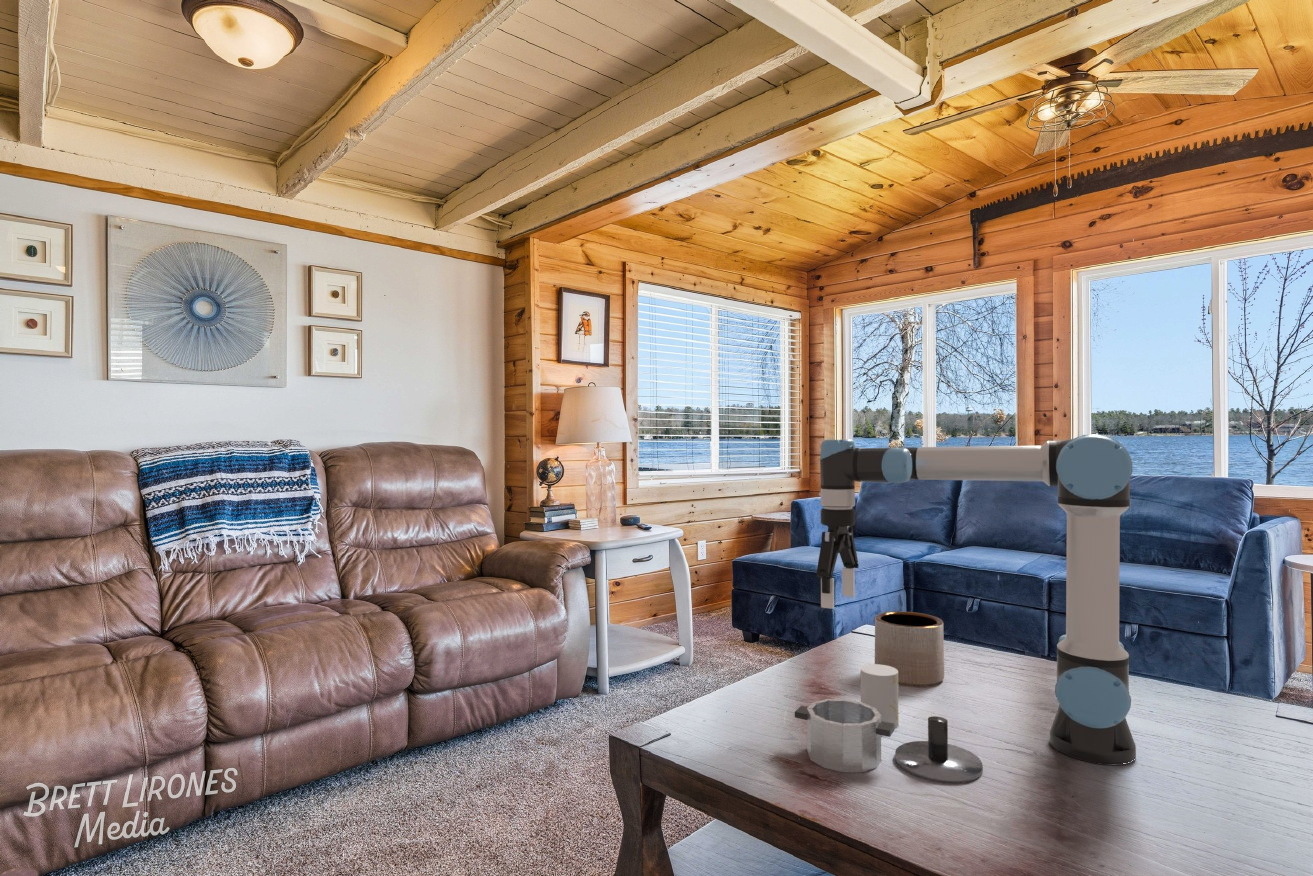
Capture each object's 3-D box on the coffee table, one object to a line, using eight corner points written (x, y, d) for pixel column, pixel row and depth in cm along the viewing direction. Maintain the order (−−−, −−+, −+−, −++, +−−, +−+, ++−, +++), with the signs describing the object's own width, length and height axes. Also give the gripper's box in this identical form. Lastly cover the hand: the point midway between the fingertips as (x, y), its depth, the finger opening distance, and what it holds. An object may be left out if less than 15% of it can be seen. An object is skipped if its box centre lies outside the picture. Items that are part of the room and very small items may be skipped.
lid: (987, 759, 143) (987, 714, 143) (976, 793, 129) (976, 743, 129) (904, 742, 151) (904, 699, 151) (886, 772, 138) (886, 725, 138)
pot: (900, 753, 145) (900, 709, 145) (883, 782, 133) (883, 733, 133) (809, 734, 155) (809, 692, 155) (786, 758, 143) (785, 714, 143)
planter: (861, 670, 198) (861, 613, 198) (915, 664, 203) (915, 609, 203) (901, 691, 181) (901, 629, 181) (959, 684, 186) (958, 624, 186)
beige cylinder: (900, 731, 156) (900, 676, 156) (862, 728, 158) (862, 674, 158) (896, 717, 164) (895, 665, 164) (859, 714, 166) (859, 663, 166)
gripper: (840, 502, 173) (841, 590, 173) (800, 511, 152) (801, 610, 152) (871, 504, 169) (872, 593, 168) (834, 513, 148) (835, 615, 148)
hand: (838, 602), depth 160 cm, fingers open, 13 cm apart
